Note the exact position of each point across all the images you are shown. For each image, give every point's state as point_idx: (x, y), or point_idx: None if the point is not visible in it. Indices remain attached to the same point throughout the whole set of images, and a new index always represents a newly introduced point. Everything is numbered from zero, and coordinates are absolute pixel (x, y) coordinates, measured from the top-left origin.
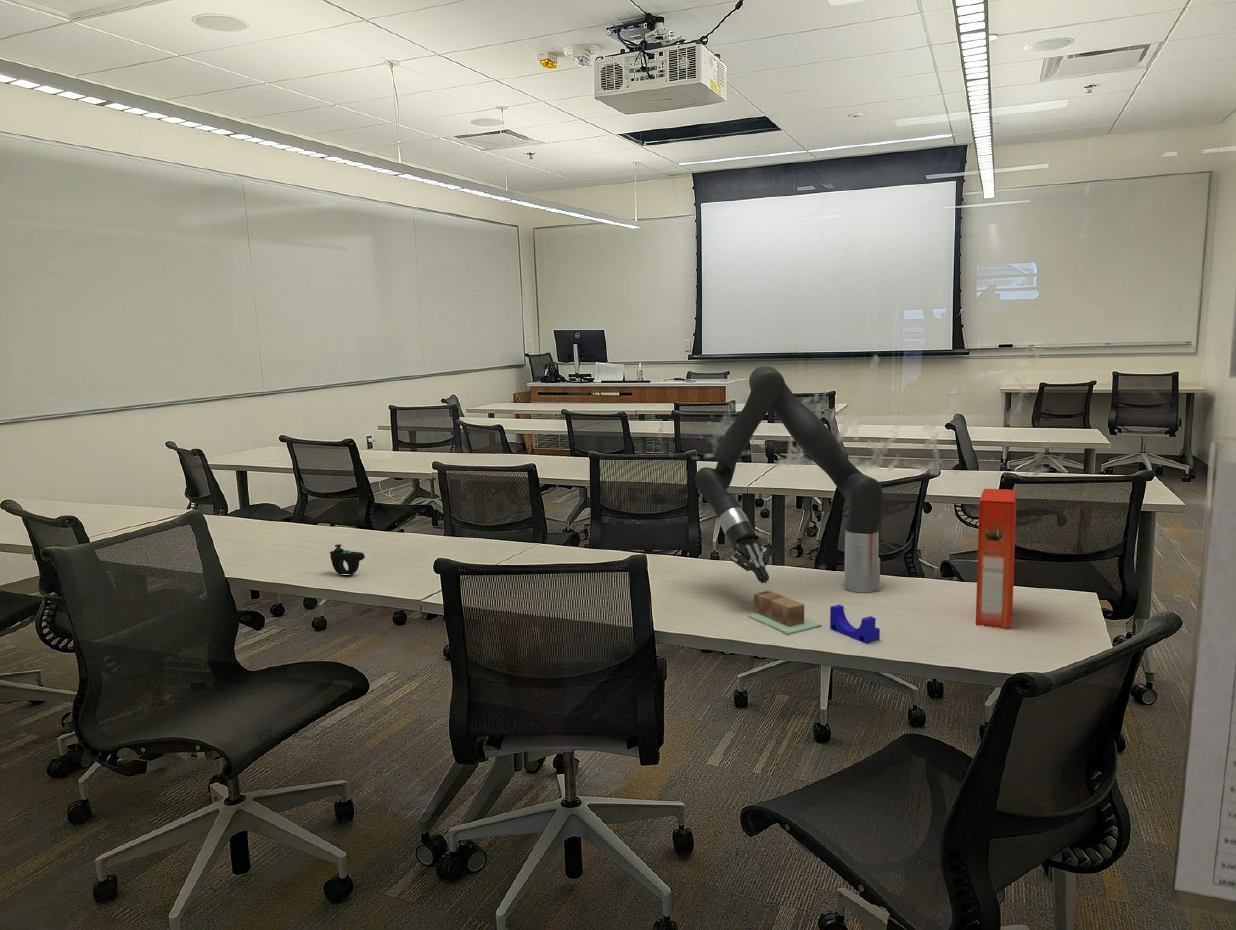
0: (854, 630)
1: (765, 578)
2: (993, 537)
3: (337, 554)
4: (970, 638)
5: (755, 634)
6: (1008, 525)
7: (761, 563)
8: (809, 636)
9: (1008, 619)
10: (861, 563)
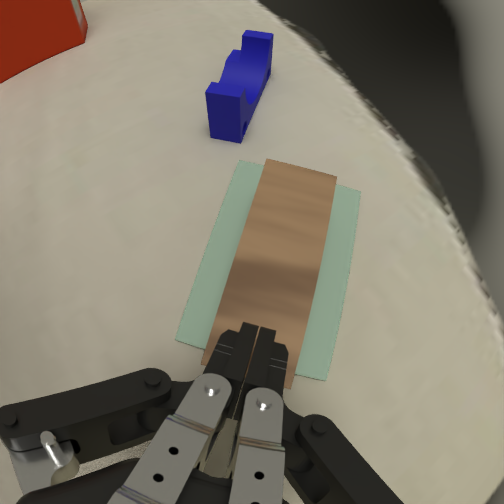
0: (245, 87)
1: (269, 329)
2: None
3: None
4: (144, 24)
5: (420, 260)
6: None
7: (214, 397)
8: (325, 153)
9: (84, 16)
10: None
